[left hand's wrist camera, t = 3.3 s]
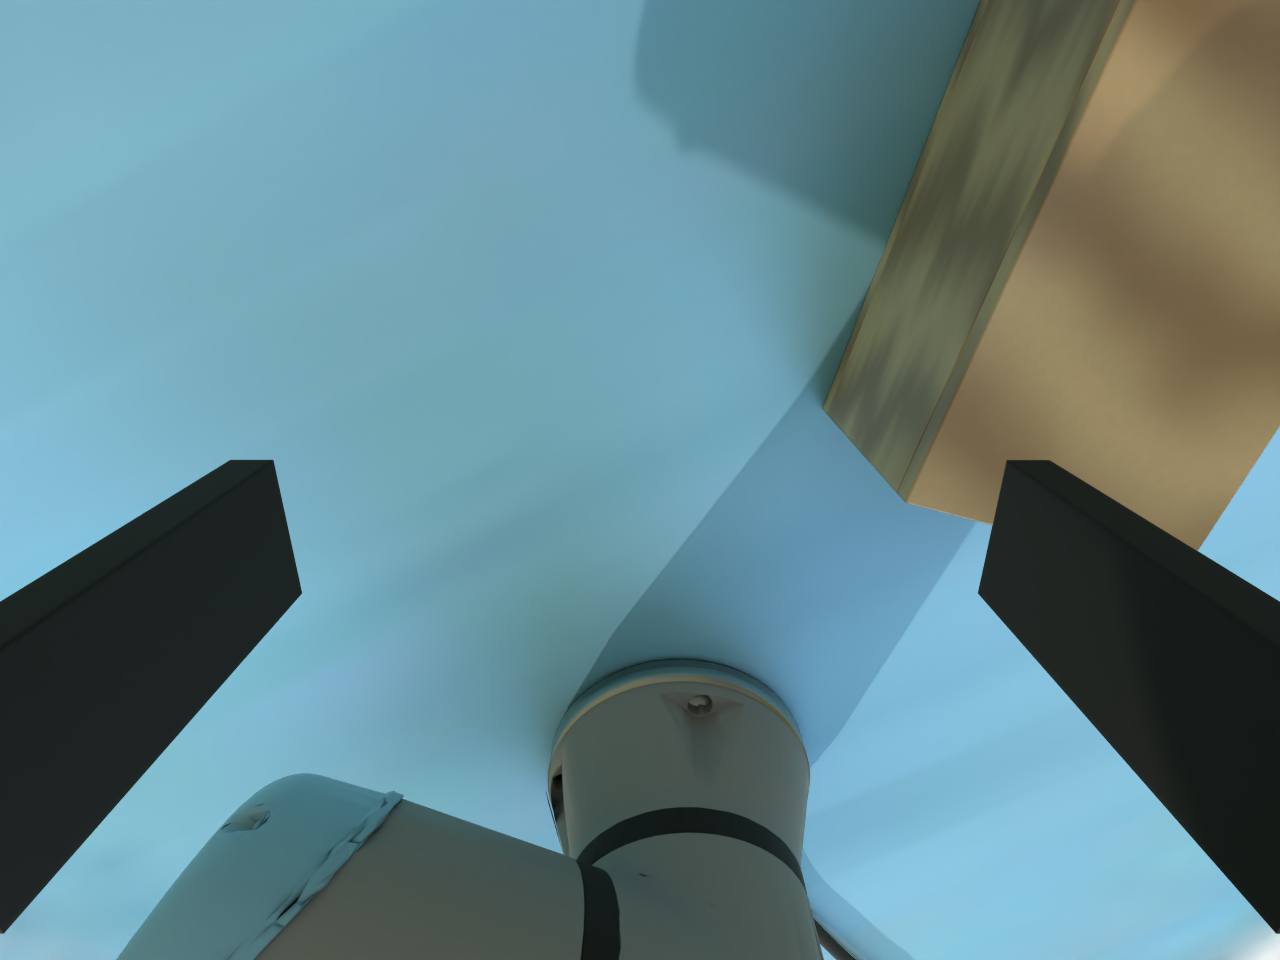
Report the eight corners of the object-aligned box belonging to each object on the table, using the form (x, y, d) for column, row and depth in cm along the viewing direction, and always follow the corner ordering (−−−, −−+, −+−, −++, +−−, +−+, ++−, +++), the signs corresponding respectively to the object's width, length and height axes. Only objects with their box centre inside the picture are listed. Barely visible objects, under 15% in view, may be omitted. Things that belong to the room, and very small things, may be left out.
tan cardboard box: (983, -8, 26) (1202, -144, 16) (1218, 72, 28) (1566, -7, 17) (822, 409, 33) (904, 503, 23) (1017, 462, 34) (1183, 575, 24)
